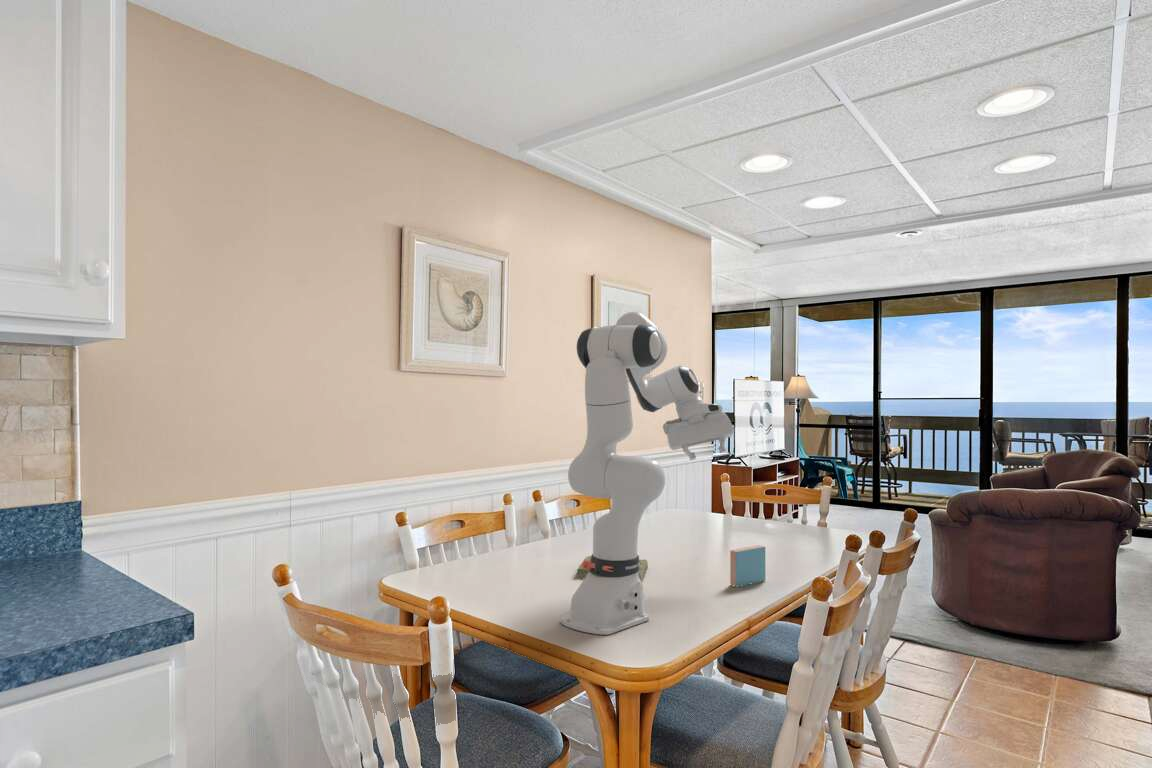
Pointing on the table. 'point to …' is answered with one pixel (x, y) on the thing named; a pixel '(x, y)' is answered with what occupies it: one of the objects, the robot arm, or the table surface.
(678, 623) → the table surface
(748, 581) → the glazed tile
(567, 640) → the table surface
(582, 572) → the decorative tile
